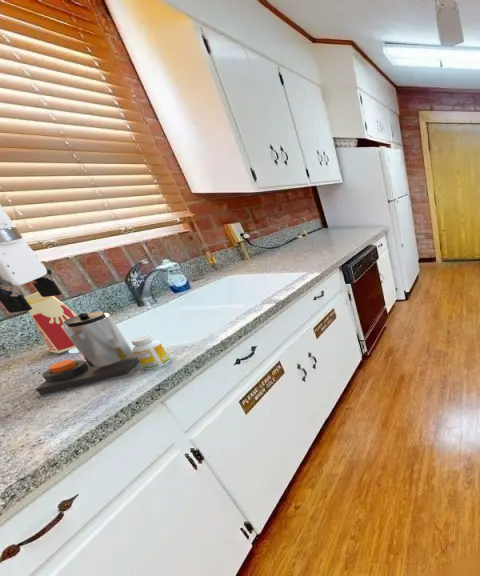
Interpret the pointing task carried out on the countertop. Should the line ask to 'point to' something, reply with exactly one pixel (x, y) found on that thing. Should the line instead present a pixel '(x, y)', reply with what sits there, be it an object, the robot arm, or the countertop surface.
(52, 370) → the power button
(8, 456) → the countertop surface
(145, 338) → the supplement bottle
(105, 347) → the kettle
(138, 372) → the countertop surface
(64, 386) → the push button panel
